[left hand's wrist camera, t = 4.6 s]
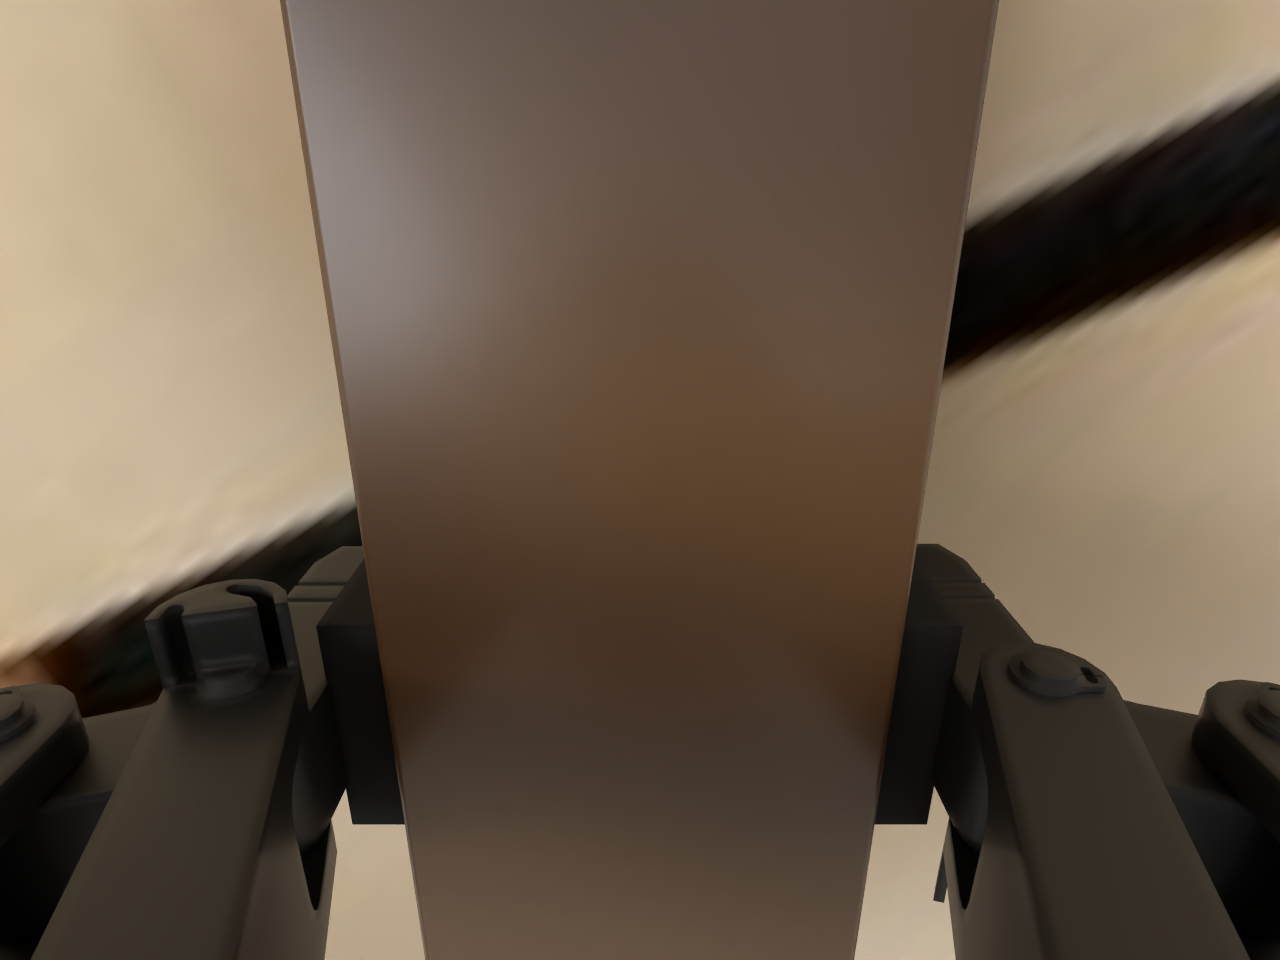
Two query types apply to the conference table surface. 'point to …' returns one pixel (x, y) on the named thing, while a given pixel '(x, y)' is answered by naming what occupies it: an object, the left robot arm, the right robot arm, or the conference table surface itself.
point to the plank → (639, 439)
